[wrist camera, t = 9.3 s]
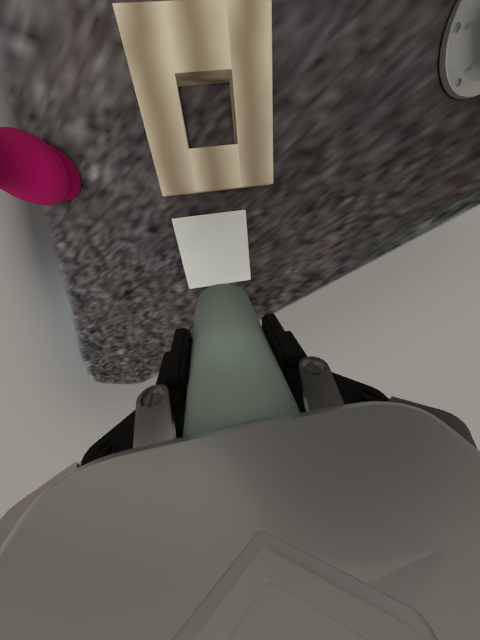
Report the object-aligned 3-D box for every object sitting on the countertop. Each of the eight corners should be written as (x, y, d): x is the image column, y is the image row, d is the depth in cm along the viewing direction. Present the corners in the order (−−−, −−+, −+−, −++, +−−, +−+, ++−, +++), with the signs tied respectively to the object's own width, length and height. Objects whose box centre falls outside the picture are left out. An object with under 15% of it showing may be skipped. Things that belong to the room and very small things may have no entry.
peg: (248, 279, 15) (319, 404, 6) (252, 327, 17) (307, 473, 8) (189, 288, 15) (161, 437, 5) (201, 336, 17) (196, 498, 8)
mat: (244, 209, 32) (245, 209, 32) (250, 278, 39) (250, 279, 38) (172, 218, 32) (171, 218, 31) (189, 287, 38) (189, 288, 37)
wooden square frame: (264, 19, 23) (271, -4, 20) (267, 185, 31) (273, 183, 29) (123, 27, 22) (112, 3, 19) (166, 196, 30) (162, 196, 27)
